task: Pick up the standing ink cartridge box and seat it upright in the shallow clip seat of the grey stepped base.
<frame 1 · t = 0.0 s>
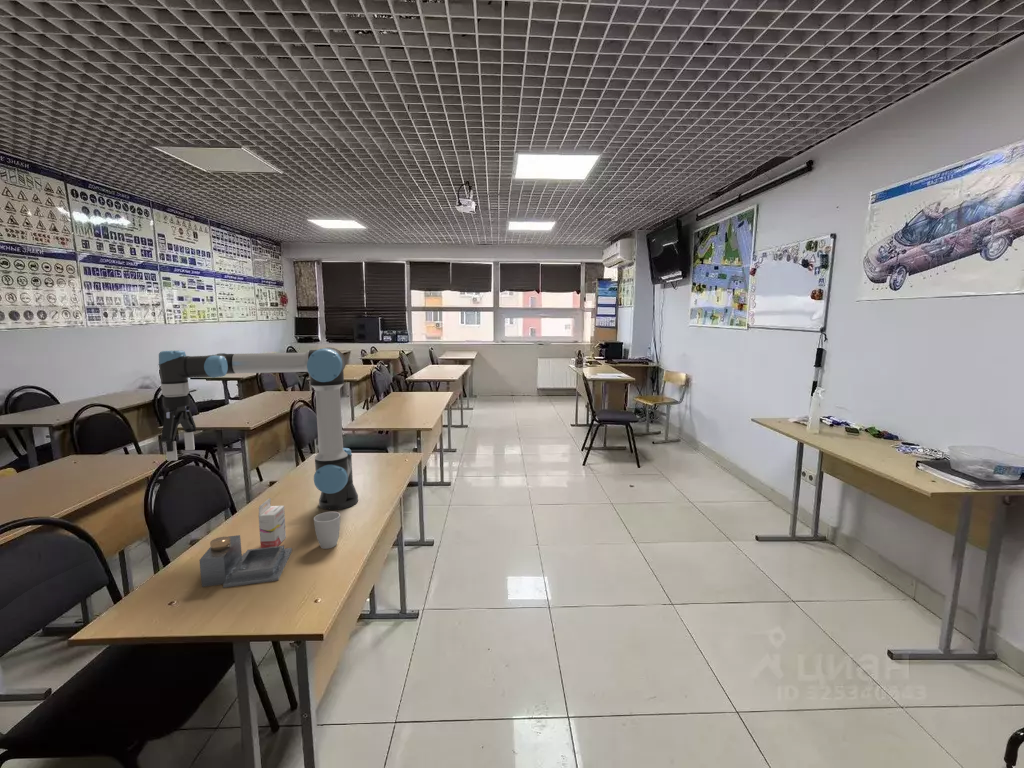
hand: (181, 455, 157), 28 cm above the table, fingers open, 13 cm apart
ink cartridge box: (274, 544, 151), on the table
cup: (328, 545, 149), on the table
grey stepped base: (260, 567, 135), on the table
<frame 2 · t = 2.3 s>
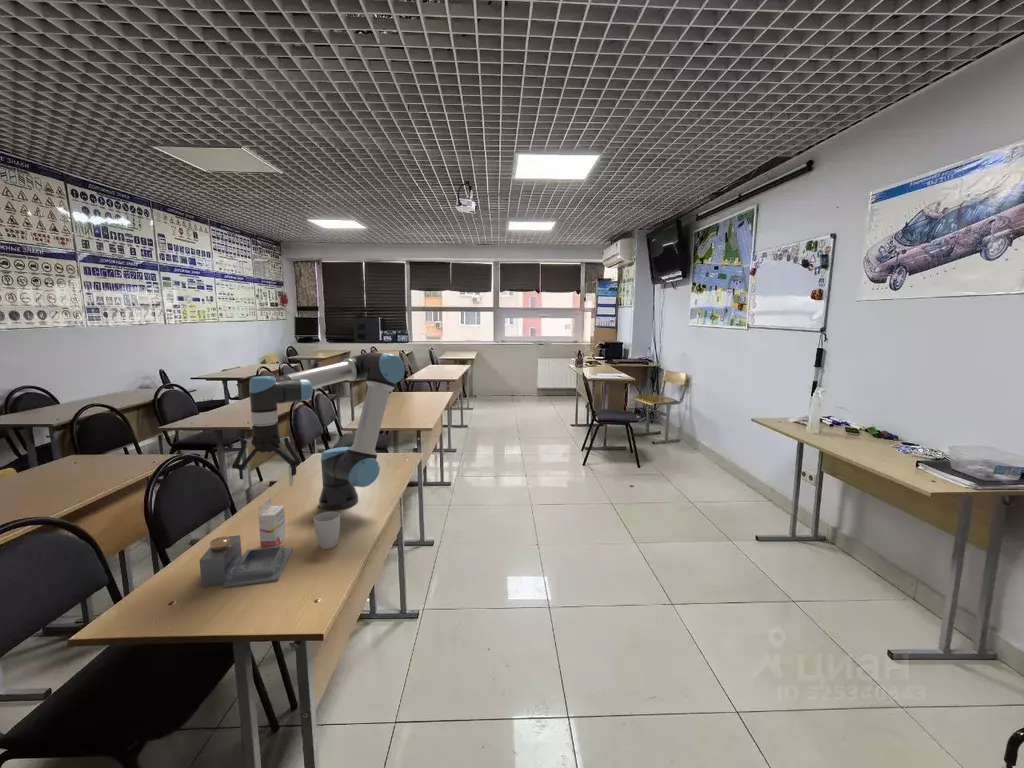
hand: (269, 486, 148), 20 cm above the table, fingers open, 13 cm apart
nothing on the table moved.
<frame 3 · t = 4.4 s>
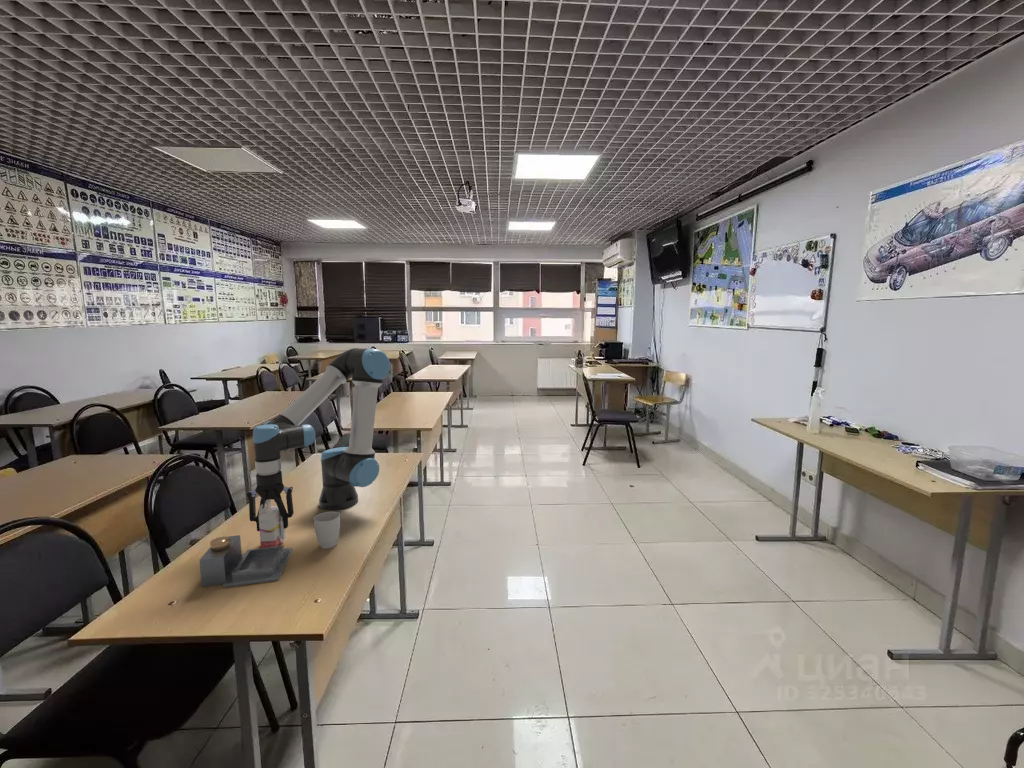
hand: (273, 538, 150), 2 cm above the table, fingers closed on ink cartridge box, 5 cm apart
ink cartridge box: (274, 544, 151), on the table, touching gripper
everything else where it was.
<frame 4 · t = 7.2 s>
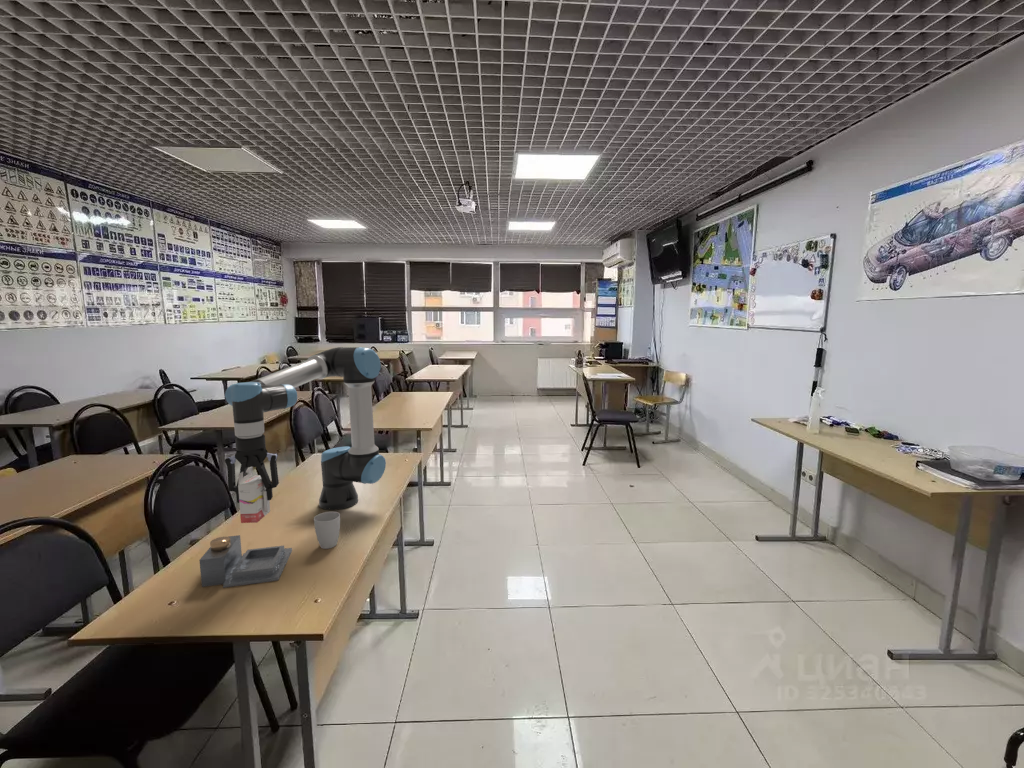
hand: (255, 511, 133), 18 cm above the table, fingers closed on ink cartridge box, 5 cm apart
ink cartridge box: (256, 517, 133), point 16 cm above the table, touching gripper
everything else where it was.
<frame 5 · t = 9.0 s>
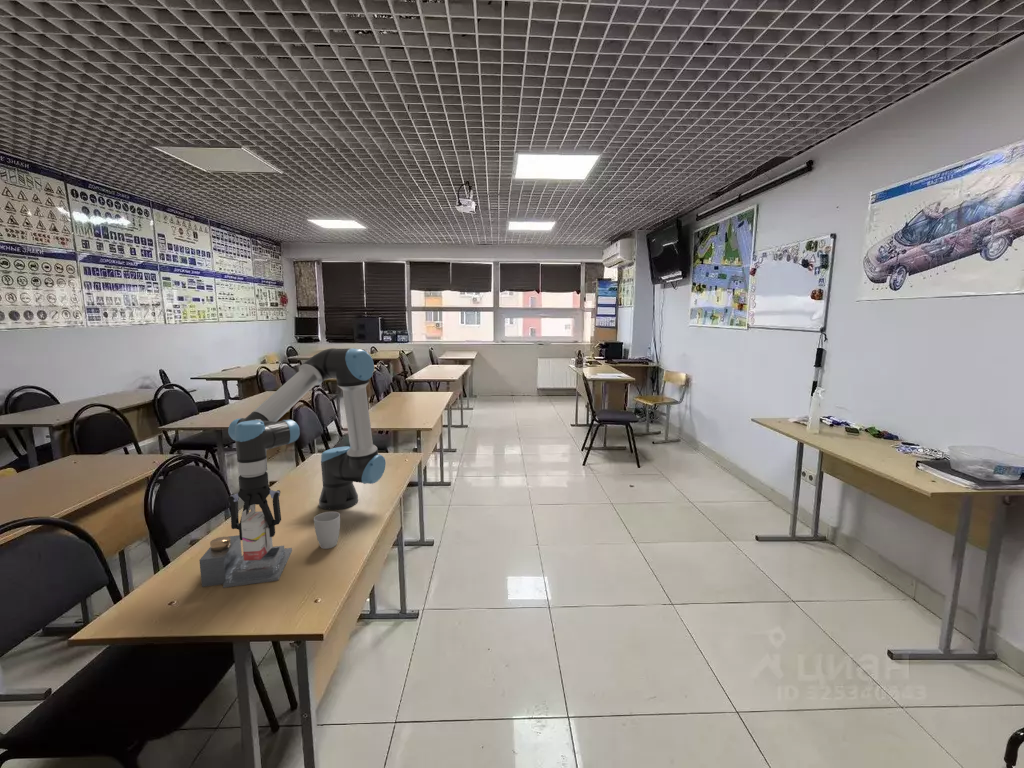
hand: (258, 547, 134), 6 cm above the table, fingers closed on ink cartridge box, 5 cm apart
ink cartridge box: (259, 554, 135), point 4 cm above the table, touching gripper
everything else where it was.
when the fingers open (5 cm above the table, at t = 10.1 s): ink cartridge box drops 2 cm, resting on grey stepped base.
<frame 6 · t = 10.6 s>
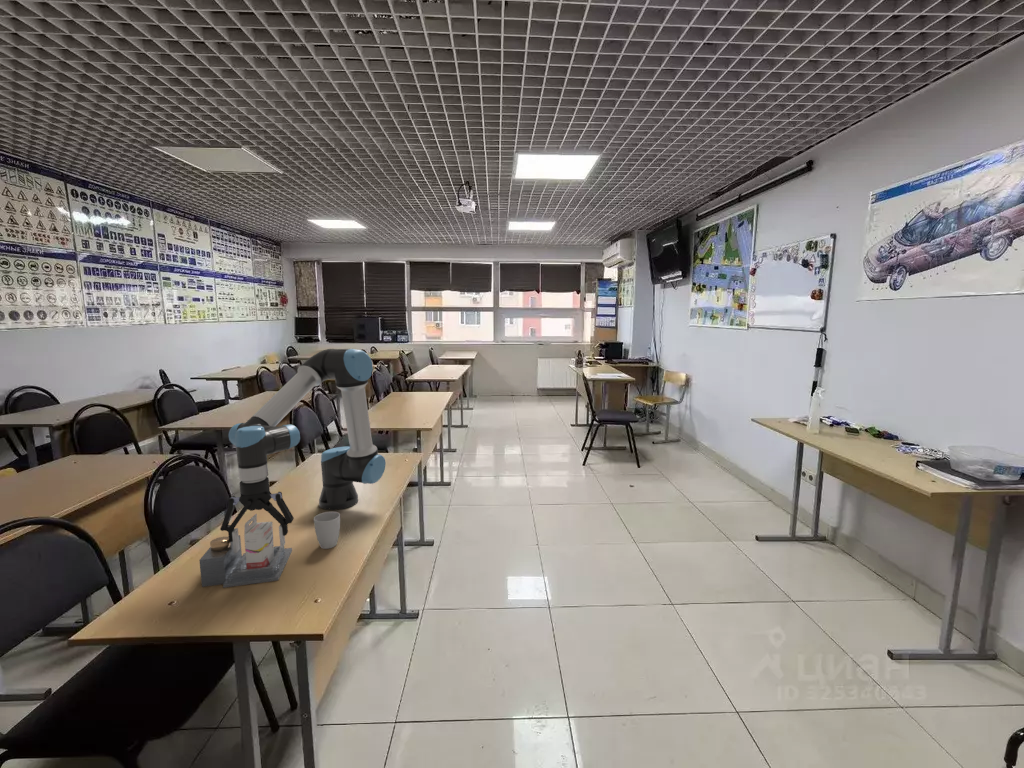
hand: (260, 548, 135), 6 cm above the table, fingers open, 12 cm apart
ink cartridge box: (261, 565, 135), point 1 cm above the table, touching grey stepped base
everything else where it was.
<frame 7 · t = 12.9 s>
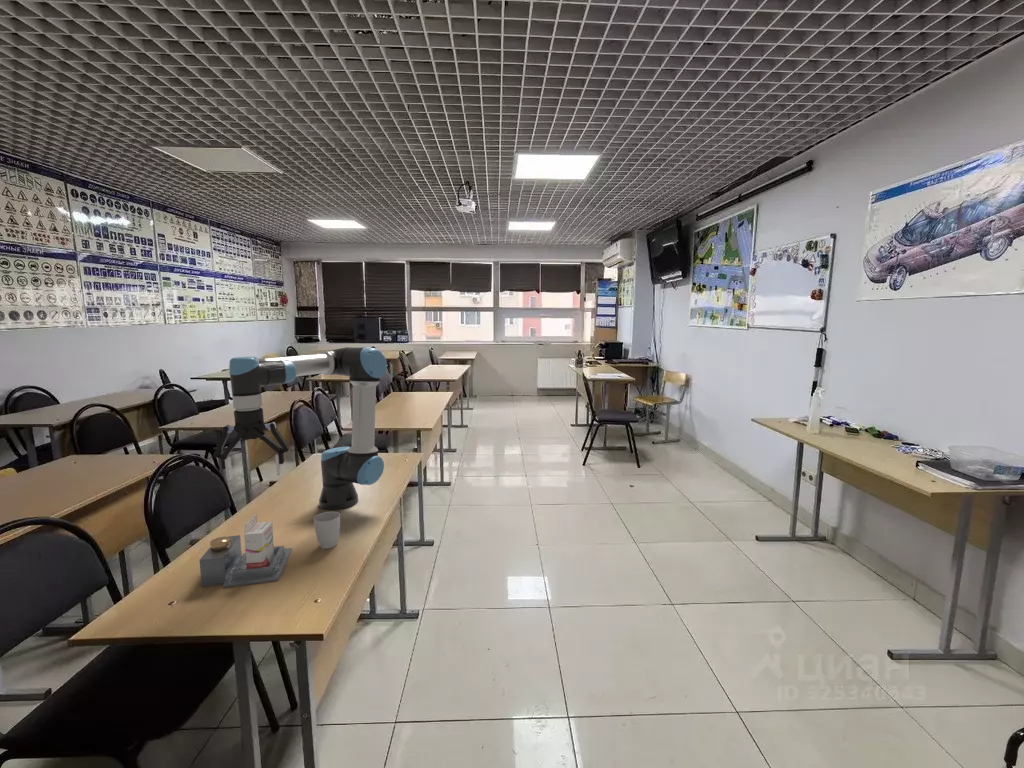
hand: (254, 476, 137), 27 cm above the table, fingers open, 13 cm apart
nothing on the table moved.
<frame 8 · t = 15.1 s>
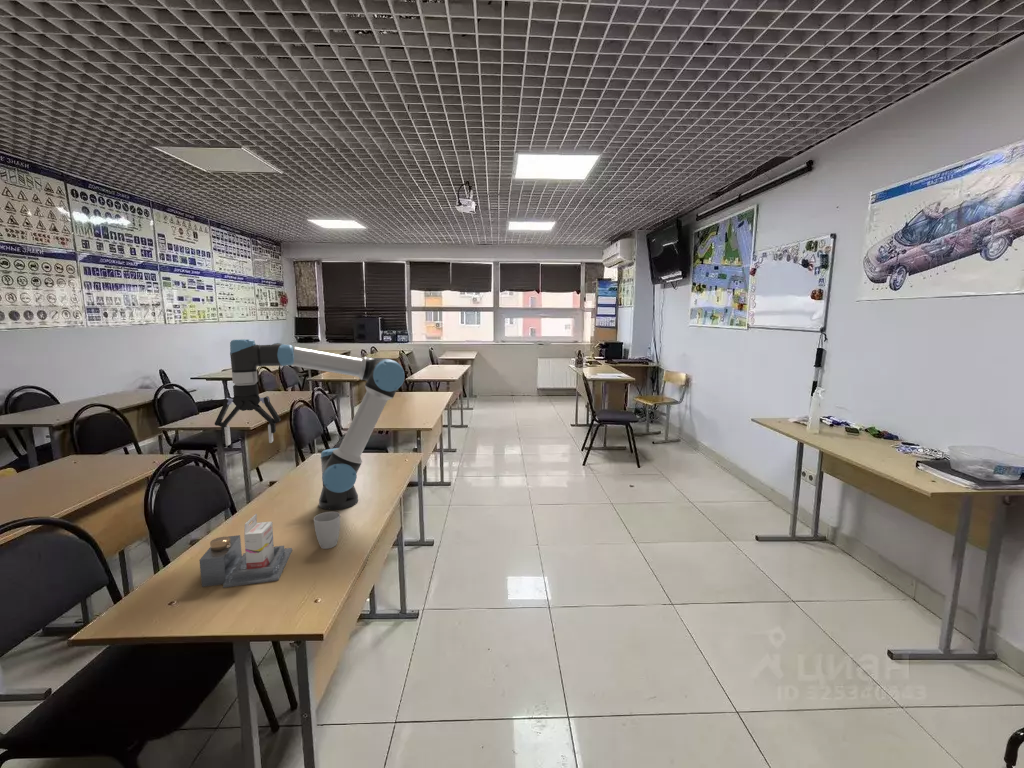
hand: (250, 443, 158), 32 cm above the table, fingers open, 13 cm apart
nothing on the table moved.
at the end: ink cartridge box 0.4 cm from the grey stepped base (horizontally); ink cartridge box tilted 0°; the gripper is holding nothing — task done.
